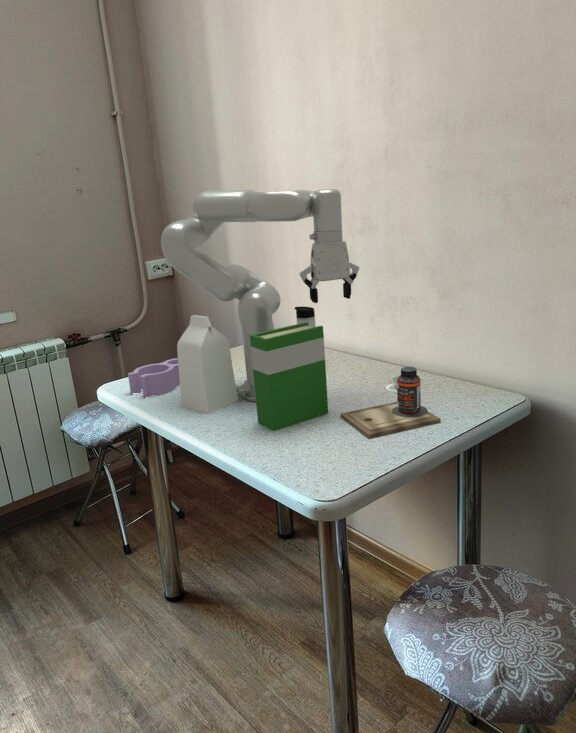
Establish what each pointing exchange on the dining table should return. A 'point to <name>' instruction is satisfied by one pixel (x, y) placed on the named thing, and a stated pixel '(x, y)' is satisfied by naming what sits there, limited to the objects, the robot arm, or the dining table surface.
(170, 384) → the clip
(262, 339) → the hardback book
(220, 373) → the milk
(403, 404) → the supplement bottle
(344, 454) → the dining table surface
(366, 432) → the brown flat wooden board
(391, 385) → the teacup and saucer
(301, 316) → the travel mug
